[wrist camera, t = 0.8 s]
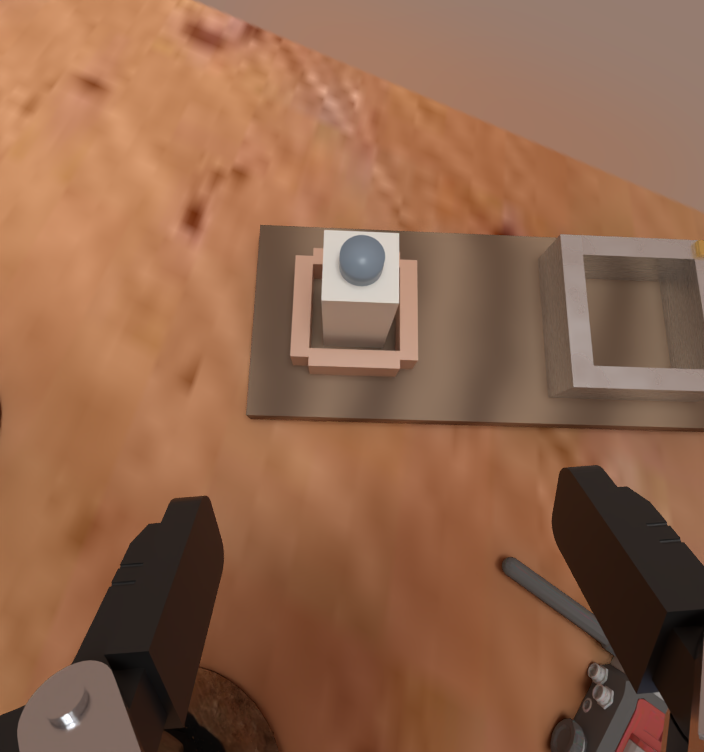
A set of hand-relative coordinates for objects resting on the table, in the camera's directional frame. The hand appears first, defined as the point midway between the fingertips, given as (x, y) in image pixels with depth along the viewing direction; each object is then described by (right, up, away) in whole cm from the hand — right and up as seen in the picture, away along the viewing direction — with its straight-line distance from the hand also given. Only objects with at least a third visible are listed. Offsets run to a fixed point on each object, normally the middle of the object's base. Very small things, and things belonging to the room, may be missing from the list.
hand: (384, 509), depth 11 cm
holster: (-1, +7, +18) cm, 19 cm away
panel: (+7, +6, +19) cm, 21 cm away
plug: (-1, +7, +18) cm, 19 cm away
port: (+15, +6, +18) cm, 24 cm away
